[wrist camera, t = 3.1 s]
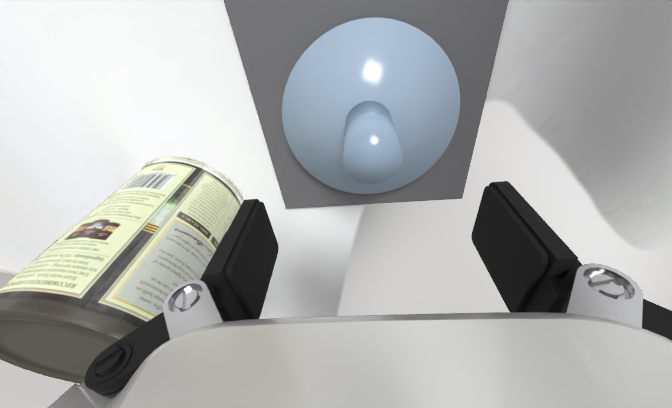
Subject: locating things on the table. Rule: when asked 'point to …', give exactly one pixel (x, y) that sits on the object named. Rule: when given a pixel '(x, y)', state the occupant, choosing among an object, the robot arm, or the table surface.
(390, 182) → the lid
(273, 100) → the mat
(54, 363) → the coffee can
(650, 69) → the table surface
